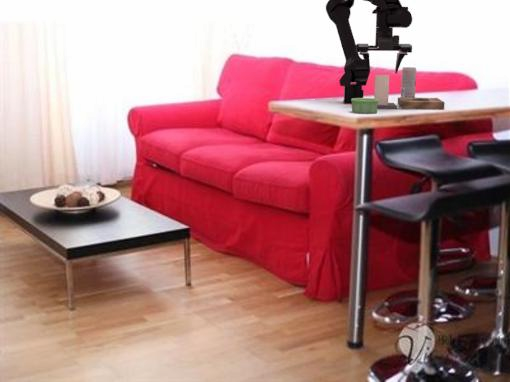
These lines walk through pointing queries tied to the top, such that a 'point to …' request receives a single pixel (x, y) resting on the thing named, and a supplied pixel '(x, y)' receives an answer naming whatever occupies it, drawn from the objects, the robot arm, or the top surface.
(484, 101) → the top surface
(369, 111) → the ramekin
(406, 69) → the energy drink
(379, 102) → the pink block
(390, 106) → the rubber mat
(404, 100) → the pocket block
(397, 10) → the robot arm
